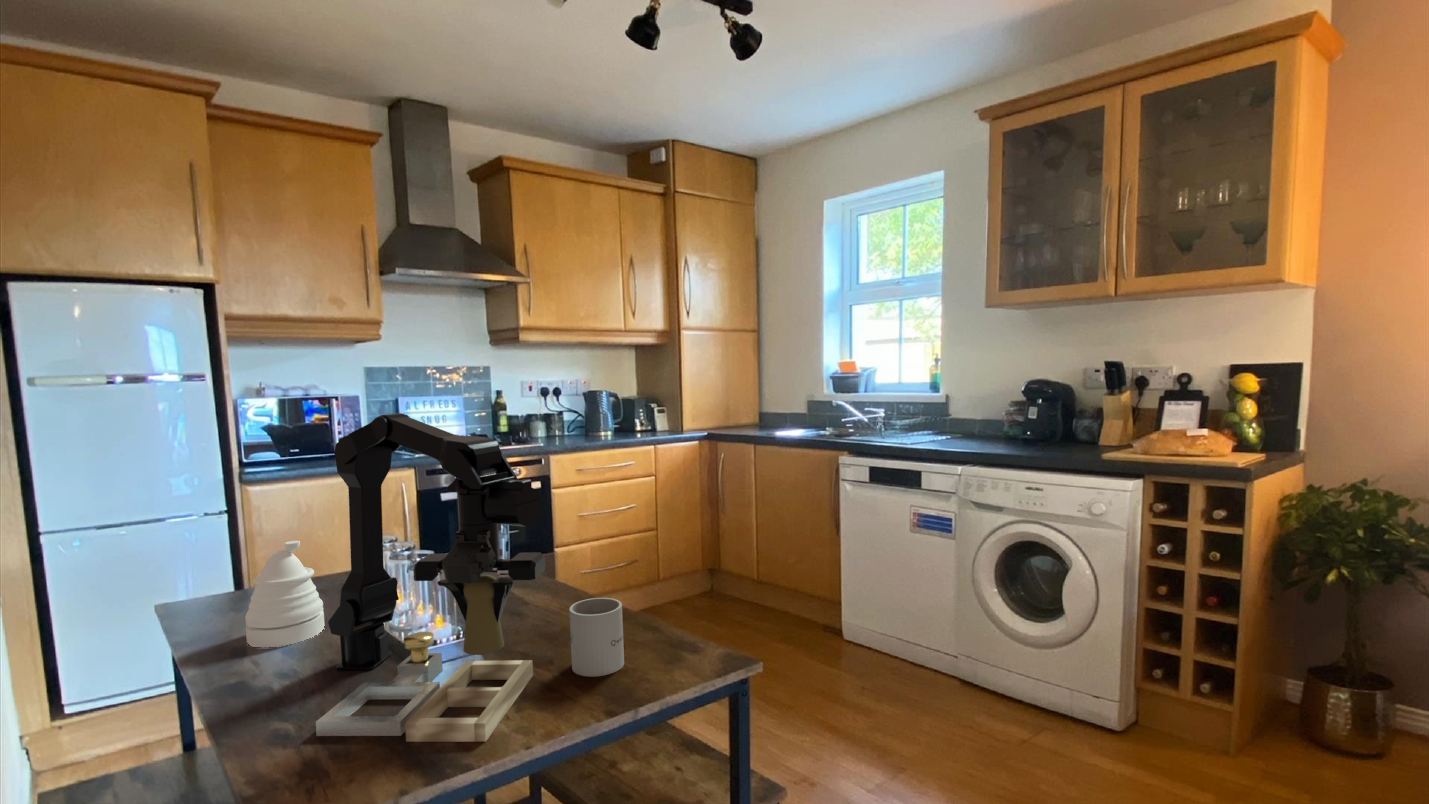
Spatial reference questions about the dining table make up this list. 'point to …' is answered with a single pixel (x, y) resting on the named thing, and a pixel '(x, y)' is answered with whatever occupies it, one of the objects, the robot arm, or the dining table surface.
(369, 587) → the robot arm
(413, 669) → the socket block
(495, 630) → the cork
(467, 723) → the rack
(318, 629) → the honey pot
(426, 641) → the release key
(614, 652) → the mug
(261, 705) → the dining table surface
